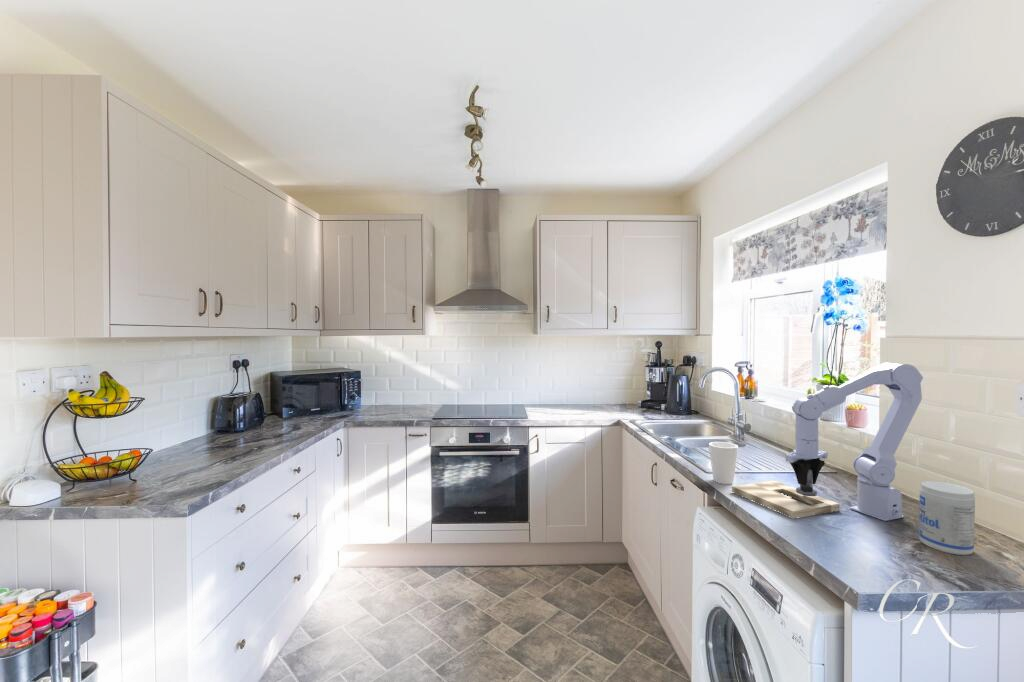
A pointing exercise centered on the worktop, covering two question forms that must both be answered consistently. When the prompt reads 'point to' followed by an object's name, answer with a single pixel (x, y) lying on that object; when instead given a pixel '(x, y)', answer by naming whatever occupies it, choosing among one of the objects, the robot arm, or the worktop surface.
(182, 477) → the worktop surface
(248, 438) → the worktop surface
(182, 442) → the worktop surface
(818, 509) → the keyhole board
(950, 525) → the supplement tub
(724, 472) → the foam cup
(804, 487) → the peg
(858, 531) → the worktop surface
